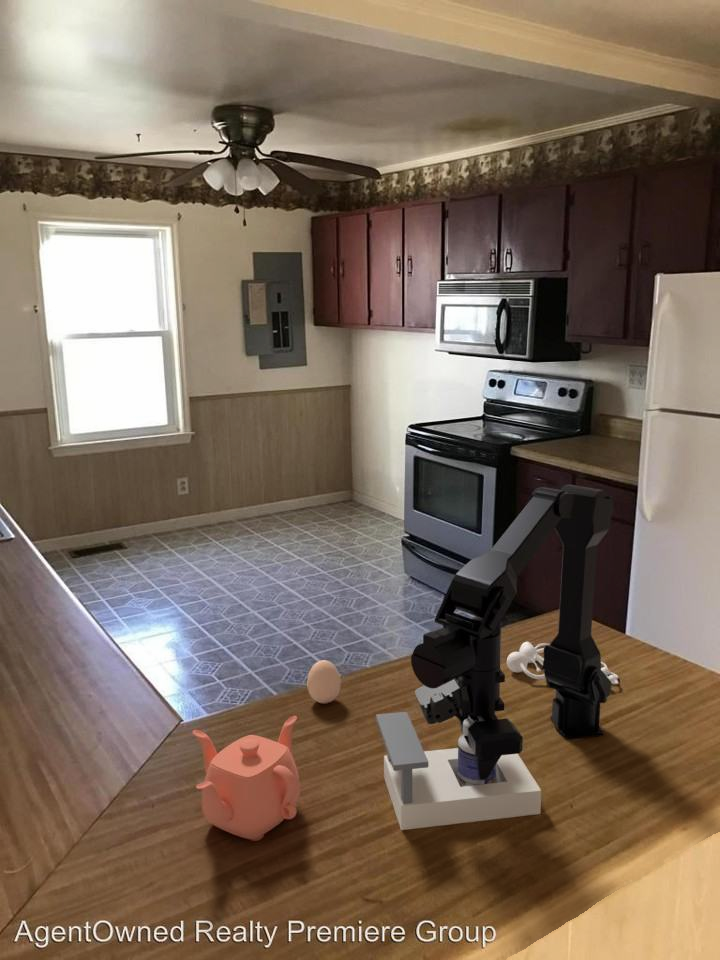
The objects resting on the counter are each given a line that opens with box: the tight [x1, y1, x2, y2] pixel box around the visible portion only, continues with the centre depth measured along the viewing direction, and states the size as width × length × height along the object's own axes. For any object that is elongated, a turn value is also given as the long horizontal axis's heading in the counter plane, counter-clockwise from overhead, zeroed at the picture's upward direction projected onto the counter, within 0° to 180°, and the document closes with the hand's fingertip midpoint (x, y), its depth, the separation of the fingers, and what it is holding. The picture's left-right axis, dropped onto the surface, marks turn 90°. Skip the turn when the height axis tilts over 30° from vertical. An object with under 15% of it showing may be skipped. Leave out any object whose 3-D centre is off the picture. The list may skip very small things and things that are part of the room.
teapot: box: [192, 715, 301, 842], centre depth 104 cm, size 14×14×11 cm
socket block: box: [375, 711, 542, 831], centre depth 109 cm, size 20×13×10 cm, turn 99°
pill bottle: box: [457, 717, 496, 787], centre depth 109 cm, size 5×5×9 cm
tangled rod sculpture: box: [506, 641, 620, 686], centre depth 145 cm, size 19×14×4 cm
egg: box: [306, 659, 342, 704], centre depth 136 cm, size 6×6×8 cm
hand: (477, 766), depth 109 cm, fingers closed on pill bottle, 5 cm apart
